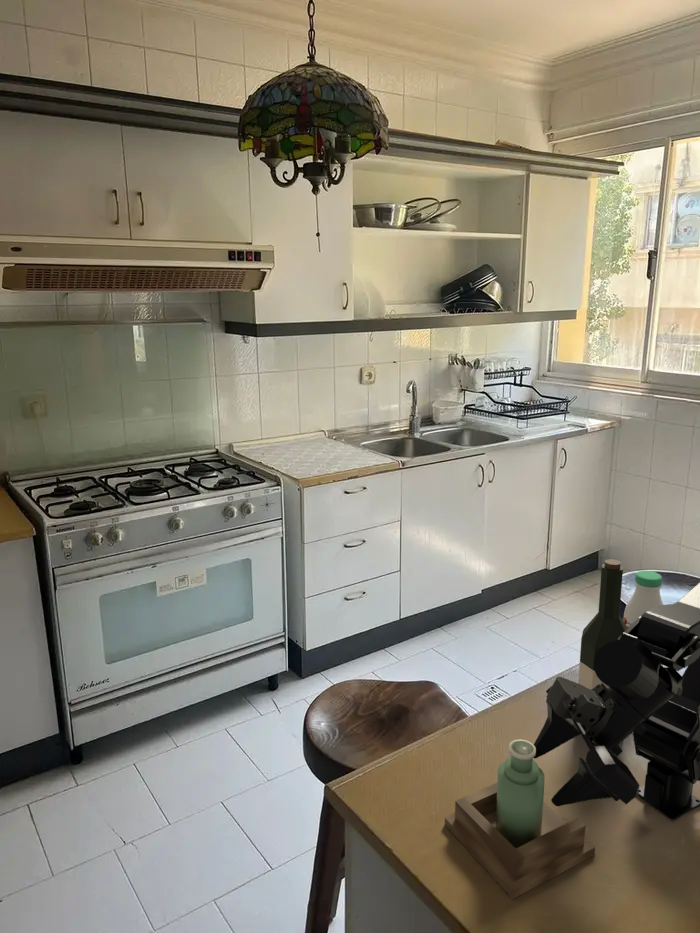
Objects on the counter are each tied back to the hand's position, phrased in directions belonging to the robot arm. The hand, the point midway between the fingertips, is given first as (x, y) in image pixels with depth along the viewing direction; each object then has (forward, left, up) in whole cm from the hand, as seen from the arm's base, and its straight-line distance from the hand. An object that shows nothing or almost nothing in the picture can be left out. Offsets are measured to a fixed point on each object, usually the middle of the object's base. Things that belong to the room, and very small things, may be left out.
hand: (542, 778), depth 91 cm
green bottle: (+3, -1, -8) cm, 8 cm away
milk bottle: (-47, -22, -9) cm, 53 cm away
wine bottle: (-26, -13, -9) cm, 31 cm away
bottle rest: (+3, -1, -9) cm, 10 cm away
